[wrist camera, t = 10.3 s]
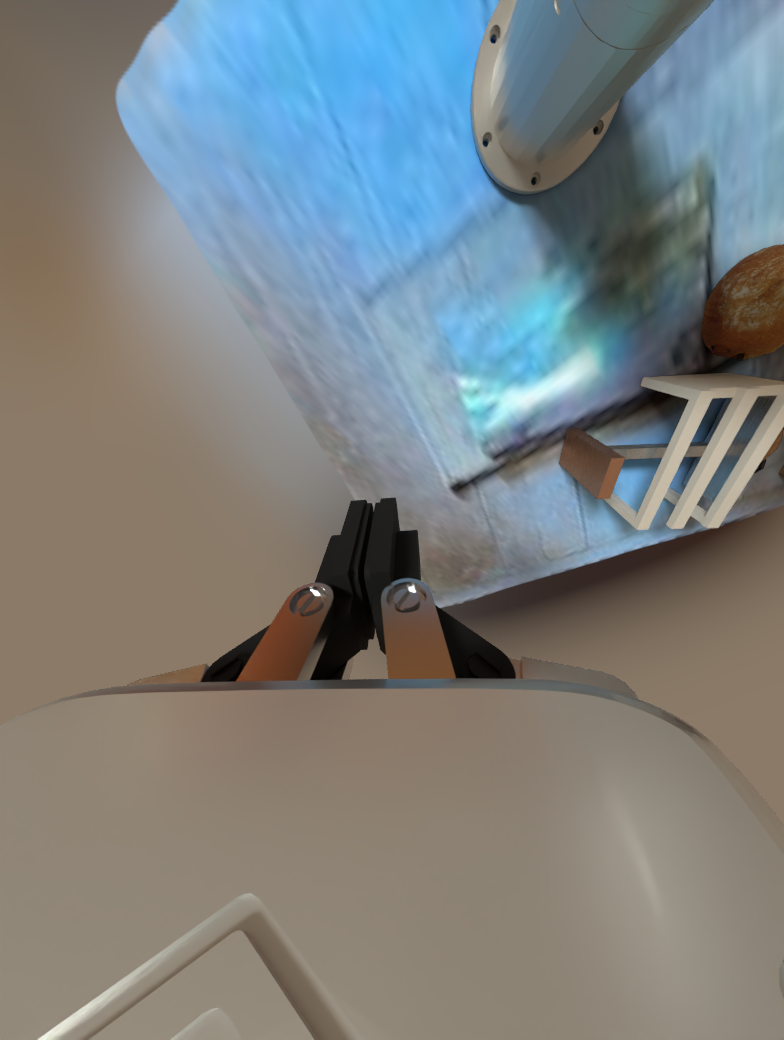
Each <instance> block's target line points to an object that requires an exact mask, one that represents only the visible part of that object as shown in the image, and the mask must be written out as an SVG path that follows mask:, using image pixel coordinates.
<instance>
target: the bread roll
mask: <svg viewBox="0 0 784 1040" xmlns="http://www.w3.org/2000/svg"><path fill="white" fill-rule="evenodd" d="M703 315H704V318H703V321H702V338H703V340H704V342H705V345H706V346H707V347H708V348H709V349H710V350H711V352H712V353H713V354H715V355H717V356H723V357H727V358H736V360H737V361H742V360H745V359H749V358H752V357H758V356H760V355H765V354H768V353H773V352H774V351H776V349H778V348H779V347H781V346H782V345H783V344H784V244H783V245H774V246H771V247H768V248H764V249H762V250H760V251H758V252H755V253H753V254H751V255H749V256H748V257H746V258H744V259H743V260H741V261H740V262H739V263H737V264H736V265H735V266H734V267H733V268H731V269H730V270H729V271H728V272H727V273H726V274H725V275H724V277H723V278H722V279H721V280H720V281H719V283H718V284H717V286H716V287H715V288H714V290H713V291H712V293H711V294H710V296H709V298H708V300H707V302H706V305H705V311H704V314H703Z"/></svg>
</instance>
